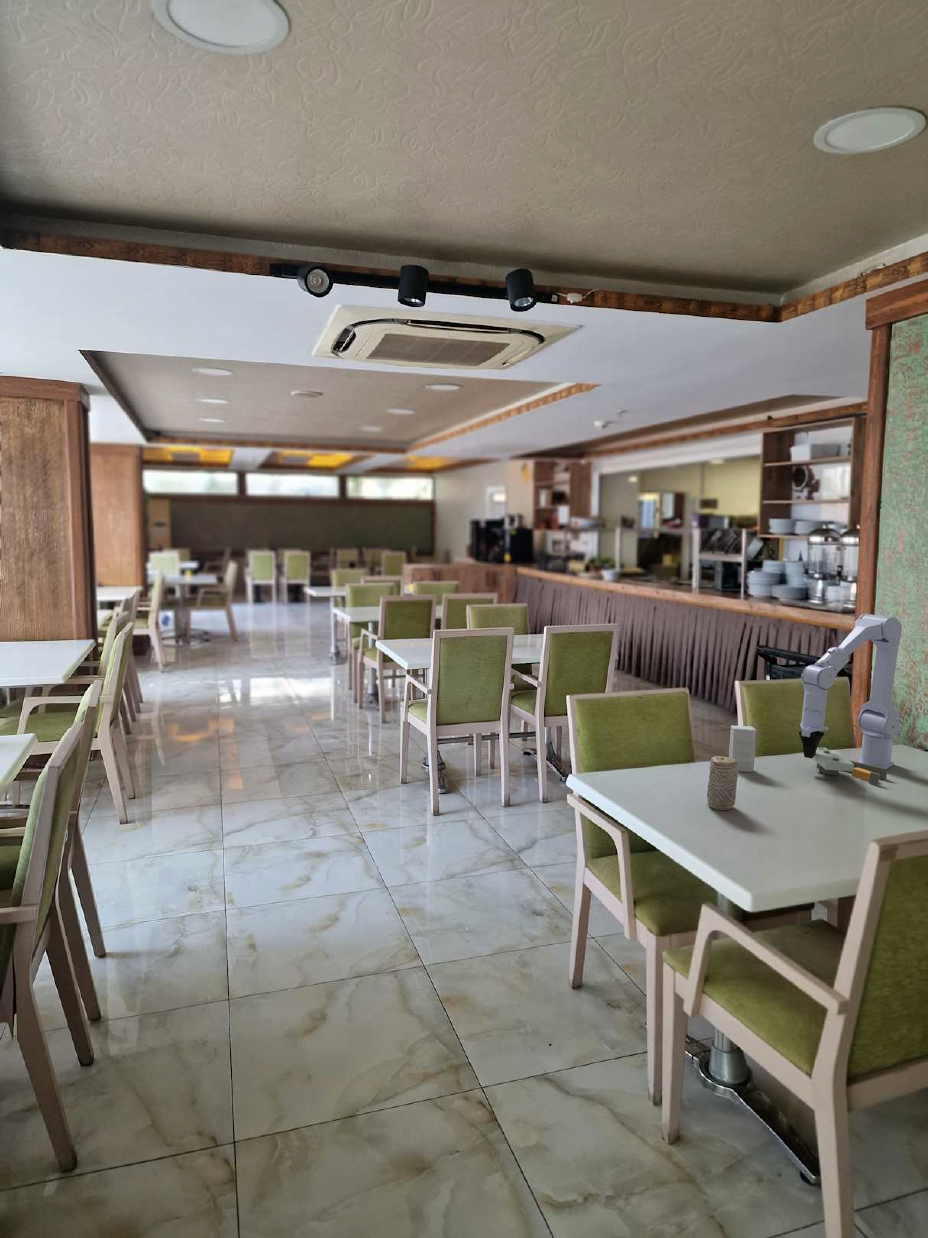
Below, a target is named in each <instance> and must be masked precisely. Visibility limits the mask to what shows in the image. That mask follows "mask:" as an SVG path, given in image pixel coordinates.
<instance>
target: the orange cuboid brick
mask: <svg viewBox="0 0 928 1238" xmlns="http://www.w3.org/2000/svg"><path fill="white" fill-rule="evenodd" d="M870 773H871V771H868V770H865V769H861V768H853V771H852V772H851V777H853V778H857V779H859V778H860V779H859V780H863V781H865V782H869V780H870Z"/></svg>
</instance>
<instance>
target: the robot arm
mask: <svg viewBox="0 0 928 1238" xmlns="http://www.w3.org/2000/svg"><path fill="white" fill-rule="evenodd" d="M902 627H903V624H902V623H901V622H900V620H899V619H898V618H897V617H895V616H885V615H877V614H870V613H867V612H866V613H862V614H861V615H860V616H859V617H858V618H857V619H856V620H855V621H854V628H853V629H852V631H850V633H848V635H847V636H846V637H845V639H843V641H842V642H840V644H839V646H838V647H829V649H828V650H827V652H826V653H824V654H823V656H821V658H819V659H818V660H817V661H816V662H815V663H814V664H810V665H808V666H805V668H803V671H802V673H801V674H800V679H801V682H802V690H803V691H804V695H803V704H802V713H801V721H800V724H799V725H800V729H801V730H799V731H798V736H799V738H800V741H801V743H802V744H801V745H802V751H803V757H804V758H805V759H806V758H807V759H811V760H813V757H814V756H815V753H816V750H817V747H818V746H819V745H820V741H821V739H822V738H823V737H824V735H825V732H824V731H828V730H829V726H825V719H826V712H827V711H826V709H827V701H828V700H827V698H828V691H829V688H831V687H832V686H833V685H834V683H835V679H836V677H837V675H838V673H839V672H840V671H841V670H842V669H843V668H844V667H845V666H846V665H847V664H848V663H849V660H850V659H849V656H850V655H851V654H852V653H854V652H855V651H856V650H858V649H859V647H861V646H862V645H863V644H864V643H865V642H867V641H868V640H869V641H871V642H872V643H873V644H874V646H875V647H876V651H875V658H874V659H875V660H874V666H873V675H872V682H871V690H870V691H871V692H870V697H869V700H868V701H867V702H865V703H863V704H862V705H861V709H860V712H859V714H858V716H857V726H858V728H860V733H862V743H861V752H860V759H857V761H856V762H860V763H865V764H869V765H874V766H878V767H883V768H887V770H888V769H889V768H890V767H892V766H894V765H895V764H896V763H895V762H894V761H892V756H893V755H892V754H893V744H894V743H893V742H894V741H893V739H892V738H895V736H896V735H897V734H898V733H899V730H900V729H901V724H900V723H901V722H900V711H899V710H898V709H897V707H895V706H894V705H893V703H892V700H893V699H892V698H893V692H894V683H895V676H896V669H897V663H898V662H897V661H898V653H899V646H900V643H901V637H902V636H901V635H902Z"/></svg>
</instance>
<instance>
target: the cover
mask: <svg viewBox="0 0 928 1238" xmlns="http://www.w3.org/2000/svg"><path fill="white" fill-rule="evenodd" d="M812 760H813V761H815V762H816V768H818V769H819V764H820V765H821V766H822V767H823V768H824V769H825V770H838V771H839V772H849V771H853V768H854V764H853V763H852V762H850V761H849V760H850V759H847V758H846V757H845V756H844V755H842V754H841V753H840V752H838V751H837V750H835V749H834V750H833V749H828V748H827V747H817V750H816V753H815V756H814V757H813V758H812Z"/></svg>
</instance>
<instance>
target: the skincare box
mask: <svg viewBox="0 0 928 1238" xmlns="http://www.w3.org/2000/svg"><path fill="white" fill-rule="evenodd" d="M756 741H757V729H756V728H754V727H753V726H747V725H730V734H729V749H728V757H730V758H734V759H736V761H737V763H738V772H746V773H753V772H754V767H755V757H756V756H755V754H756Z"/></svg>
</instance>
